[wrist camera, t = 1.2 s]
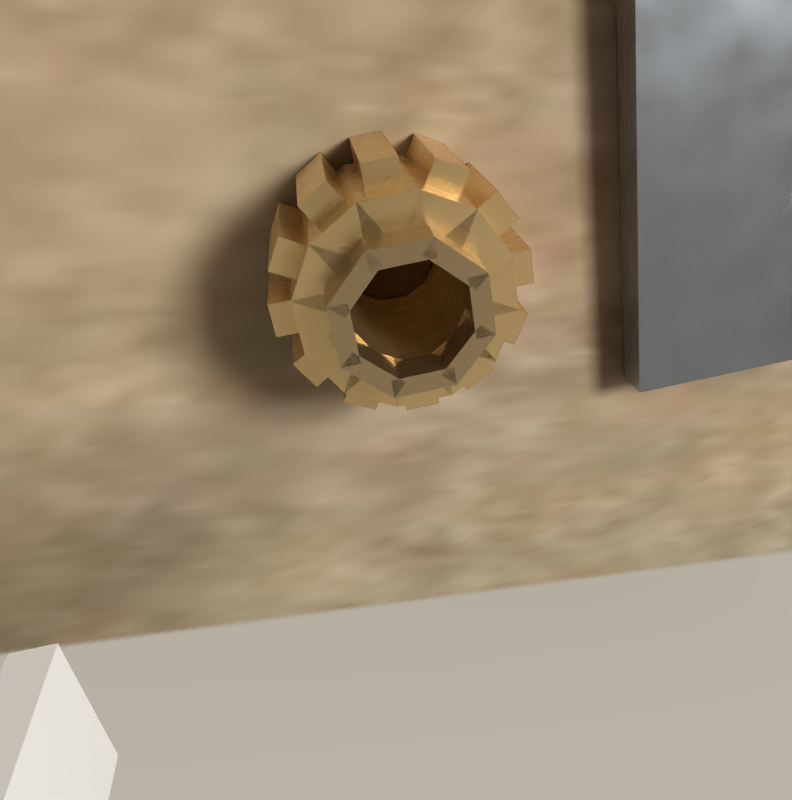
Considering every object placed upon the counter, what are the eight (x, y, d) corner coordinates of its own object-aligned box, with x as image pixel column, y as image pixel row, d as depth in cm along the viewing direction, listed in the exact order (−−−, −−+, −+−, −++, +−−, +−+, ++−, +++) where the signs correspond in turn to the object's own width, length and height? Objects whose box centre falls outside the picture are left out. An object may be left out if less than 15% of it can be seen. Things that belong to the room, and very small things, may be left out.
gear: (242, 159, 25) (230, 209, 19) (488, 109, 25) (544, 144, 19) (300, 378, 29) (304, 469, 23) (511, 333, 29) (563, 413, 23)
